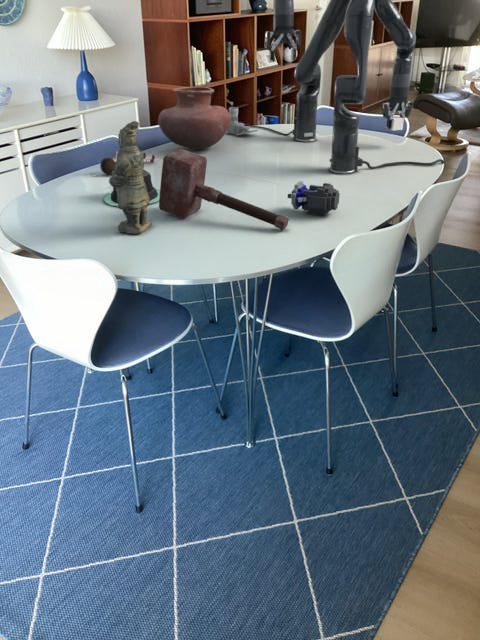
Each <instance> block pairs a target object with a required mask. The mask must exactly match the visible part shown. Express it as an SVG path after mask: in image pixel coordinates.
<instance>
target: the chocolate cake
mask: <svg viewBox="0 0 480 640" xmlns="http://www.w3.org/2000/svg"><path fill="white" fill-rule="evenodd" d="M113 175H114V172H113V173H112V175H111V176H113ZM143 178H144V182H145V184H146V188H147V192H148V195H149V197H150V204H154V203H157V202H159V198H160V188H156V187H154V185H153V182H152V174H151V172H149V171H148V170H146V169H144V168H143ZM103 200H104V202H105V203H106V204H108V205H109V206H115V207H118V202H117V192H116V189H115V188H114V187H112V191H111V193H108V194H107V195H106V196H104V198H103ZM150 204H149V205H150Z"/></svg>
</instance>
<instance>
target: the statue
mask: <svg viewBox="0 0 480 640" xmlns="http://www.w3.org/2000/svg"><path fill="white" fill-rule="evenodd" d="M139 126H140V122H139V121H136V120H134V121H131V122H129V123H127V124H126V125H125V126H123V127H122V128H121V129H119V133H118V139H117V141H118V146H119V151H118V154H117V160H116V164H115V170H114V175H113V176H112V175H110V177H109V180H108V183H109V184H110V186H111V187H112V188H113V187H114V188H115V189H116V192H117V202H118V206H117V209H119V210H122V213H123V214H124V215H125V218H126V219H125V220H122V221H120V222H119V224H118V225H117V231H118V232H121V233H126V234H134V235H136V234H142V233H143V232H145V231H146V230H147V229H148V228H150V227H151V226H152V225H153V223H152V220H150V219H148V216H147V214H148V213H147V212H148V211H147V209H148V206H149V205H150V197H149V195H148V192H147V188H146V184H145V182H144V178H143V169H144V165H145V163H144V156H143V154H144V152H143V151H142V150H141V149H139V147H138V145H137V144H138V142H137V141H138V140H137V139H138V137H137V132H138V131H139V128H140V127H139Z"/></svg>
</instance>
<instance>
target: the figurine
mask: <svg viewBox="0 0 480 640" xmlns="http://www.w3.org/2000/svg"><path fill="white" fill-rule="evenodd" d="M118 154H119V151H118V149H116V151H115V156H114V157H113V158H112V157H111V156H110V157H109V156H106V157H104V158H102V159H101V162H100V170H101V172H102V173H103V174H105V175H108V176H112V173H113V172H114V170H115V164H116V160H117V156H118ZM143 156H144V164H148V163H149V164H150V163H151V164H153V163H155V159H156V156H155V154H154V153H153V154H151V158H150V159H146V157H147V154H146V152H143Z"/></svg>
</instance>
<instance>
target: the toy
mask: <svg viewBox="0 0 480 640" xmlns="http://www.w3.org/2000/svg"><path fill="white" fill-rule="evenodd" d="M293 187H294V188H293V189H292V191H291V193H288V194H287V199H291V200H290V201H291V202H290V203H291V206H292V207H293V210H298V209H299V208H301V210H303V211H306V212H307V214H310V215H311V214H312V215H318V216H326V215H328V213H330V212H331V211H336V210H337V209H338V205H339V204H340V194H341V193H340V190H338V189H337V188H335V187H334V184H332V183H328V182H324V183H322V185H315V184H310V185H309V186H308V187H309V188H308V187H307V185H306V184H305V183H304V181H301V180H299V181H298V182H296V183H295V184H294V186H293Z"/></svg>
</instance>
